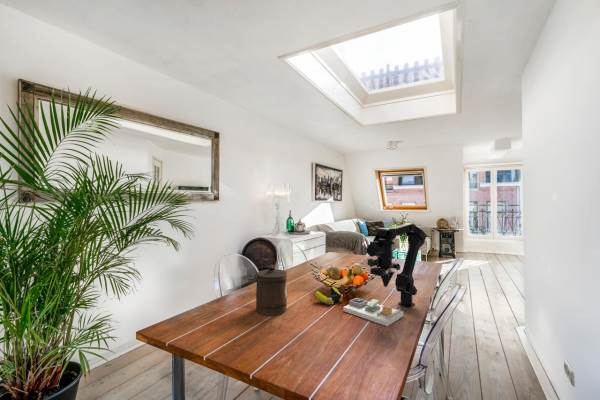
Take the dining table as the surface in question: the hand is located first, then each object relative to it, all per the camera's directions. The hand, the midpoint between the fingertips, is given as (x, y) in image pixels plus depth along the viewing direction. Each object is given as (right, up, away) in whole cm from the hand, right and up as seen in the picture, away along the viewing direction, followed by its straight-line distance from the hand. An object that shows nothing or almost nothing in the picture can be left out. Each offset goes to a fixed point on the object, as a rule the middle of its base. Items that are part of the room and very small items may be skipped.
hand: (385, 286), depth 137 cm
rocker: (-7, -7, -2) cm, 10 cm away
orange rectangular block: (-2, -10, -9) cm, 14 cm away
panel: (-7, -12, -2) cm, 14 cm away
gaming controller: (-25, -12, +14) cm, 31 cm away
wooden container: (-55, -12, +2) cm, 57 cm away
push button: (-12, -10, +3) cm, 16 cm away
